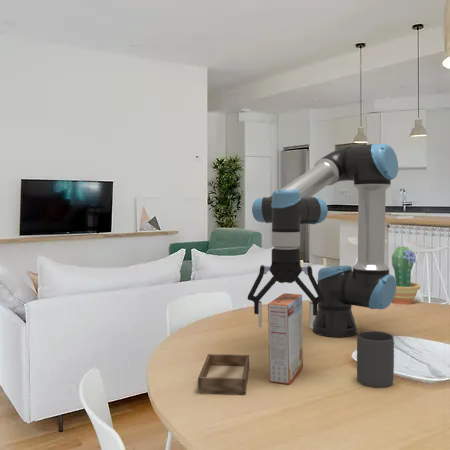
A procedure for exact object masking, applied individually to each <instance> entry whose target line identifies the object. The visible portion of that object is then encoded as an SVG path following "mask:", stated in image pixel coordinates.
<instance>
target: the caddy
mask: <svg viewBox="0 0 450 450" xmlns="http://www.w3.org/2000/svg"><path fill="white" fill-rule="evenodd" d="M249 373H250V355H249V354H223V353H221V354H220V353H219V354H217V353H208V354H207V355H206V358H205V361H204V362H203V365H202V367H201V370H200V373H199V375H198V377H197V387H198V389H197V392H198V394H207V395H208V394H209V395H210V394H213V395H246V393H247V387H248V381H249Z"/></svg>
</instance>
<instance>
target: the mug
mask: <svg viewBox="0 0 450 450" xmlns="http://www.w3.org/2000/svg"><path fill="white" fill-rule="evenodd" d="M394 339H395V338H394V335H392V334H391V333H388V332H384V331H379V330H378V331H376V330H375V331H374V330H372V331H371V330H370V331H367V330H365V331H361V332H358V334H357V338H356V379H357V382H358V383H360V385H361V384H362V385H363V386H366V387H369V388H370V387H371V388H380V389H381V388H388V387H390V386H392V385H393V383H394V375H395V373H394V372H395V360H394V359H395V340H394Z"/></svg>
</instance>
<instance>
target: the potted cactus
mask: <svg viewBox="0 0 450 450" xmlns="http://www.w3.org/2000/svg"><path fill="white" fill-rule="evenodd" d="M416 259H417V255H416V253H415V252H414V251H412V250H411V249H410V248H409V246H401V245H400V246H397V247H396V248H395V250H394V252H393V253H392V255H391V266H392V268H393V270H394V277H395V281H396V292H395V296H394V298H393V300H392V302H391V303H393V304H397V305H398V304H399V305H411V304H413V302H414V301H413V300H414V299H415V298H416V296H417V293H418V291H419V290H420V288H421V284H419V283H416V282H411V279H412V276H411V274H412V268H413V266H414V264H416Z"/></svg>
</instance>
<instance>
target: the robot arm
mask: <svg viewBox="0 0 450 450" xmlns="http://www.w3.org/2000/svg"><path fill="white" fill-rule="evenodd" d="M398 173H399V161H398V155H397V154H396V152H395V150H394V149H393V147H392V146H391V145H389V144H388V143H372V144H371V143H370V144H369V143H368V144H360V145H349V146H344V147H341V148H338V149H336V150H334V151H332V152H330V153H327V154H326V155H324V156H323V157H321V158H320V159H318V160H316V162H315V163H314V165H313V166H312V168H311V169H309V170H307V171H306V172H304V173H303V174H301V175H300V176H298V177H297V178H295V179H293V181H291V182H289V183H288V184H286V185H285V186H283V187H282V188H281V189H275V190H274V191H273V192H272V194H271V195H270V196H268V197H266V196H263V197H258V198H255V200H254V201H253V203H252V206H251V214H252V216H253V219H255V221H257V222H259V223H266V224H271V246H272V247H273V248H272V249H271V265H270V266H266V265H264V264H261V265H260V266H259V272H258V275H257V277H256V279H255V281H254V283H253V284H252V287H251V289H250V291H249V293H248V295H247V300H248V301H252V302H253V313H254V315H258V319H257V320H258V321H257V322H258V323H257V325H258V328H262V319H263V318H262V316H263V315H262V313H263V312H262V311H263V310H262V308H263V307H262V306H263V305H262V304H263V303H262V299H263V297H264V296H265V295H266V294H267V292H269V290H270V289H271V288H272V287H273V286H274V285H275V284H276V283H277V282H278V283H279V284H283V283H288V284H292V283H294V282H295V283H296V284H297V286H299V288H300V289H301V290H302V291H303V292H304V294H305V295H306V296H307V297H308V298H309V300H310V301H309V309H308V310H309V318H308V320H309V321H308V326H309V329H312V332H314V333H315V334H317V335H319V336H325V337H329V338H330V337H333V338H344V337H351V336H353V335H356V334H357V323H356V320H355V317H354V313H353V310H352V306H356V307H360V308H368V309H371V310H385V309H387V308H388V307H389V306H391V304H392V303H393V302H392V300H393V298H394V296H395V292H396V280H395V275H392V274H391V273H390V267H389V266H388V265H387V264H386V263H385V261H386V260H385V257H386V256H385V251H386V249H385V248H386V247H385V246H386V196H387V195H386V193H387V192H386V191H387V190H388V188H390V187H391V180H394V179H396V177H397V176H398ZM344 181H345V182H347V181H353V186H354V187H355V188H356V190H357V191H358V195H357V196H358V199H357V200H358V208H357V209H358V210H357V212H358V215H357V220H358V221H357V261H356V263H355V265H353V266H351V265H336V266H328V267H327V266H325V267H322V268H320V269H319V270H318V272H317V280H316V279H315V276H314V275H313V268H312V266H311V265H307V266H301V249H300V248H299V247H300V246H301V225H316V224H321V223H322V222H324V221H325V219H326V218H327V216H328V213H329V212H328V211H329V210H328V205H327V203H326V202H325V200H324V199H323V198H320V197H316V196H315V195H317V194H318V193H319V192H320V191H322V190H323V189H325V187H327V186H334V185H335V184H337V183H339V182H344ZM268 272H270V274H272V276H271V278H270V280H269V281H268V282H267V283H266V284H265V285H264V286H263V287H262V288H261V289H260V291H259V292H258V293H257V295H255V294H256V291H257V289H258V287H259V285H260V284H261V282H262V279H263V278H264V275H267V273H268ZM302 272H303V273H304V275H307V277H308V279H309V281H310V282H311V285H312V287H313V289H314V291H315V293H316V295H317V297H316V296H315V295H314V294H313V293H312V292H311V290H310V289H309V288H308V287H307V285H305V283H304V282H303V281H302V279H301V278H300V277H299V276H300V274H301V273H302ZM314 316H315V317H314Z"/></svg>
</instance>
